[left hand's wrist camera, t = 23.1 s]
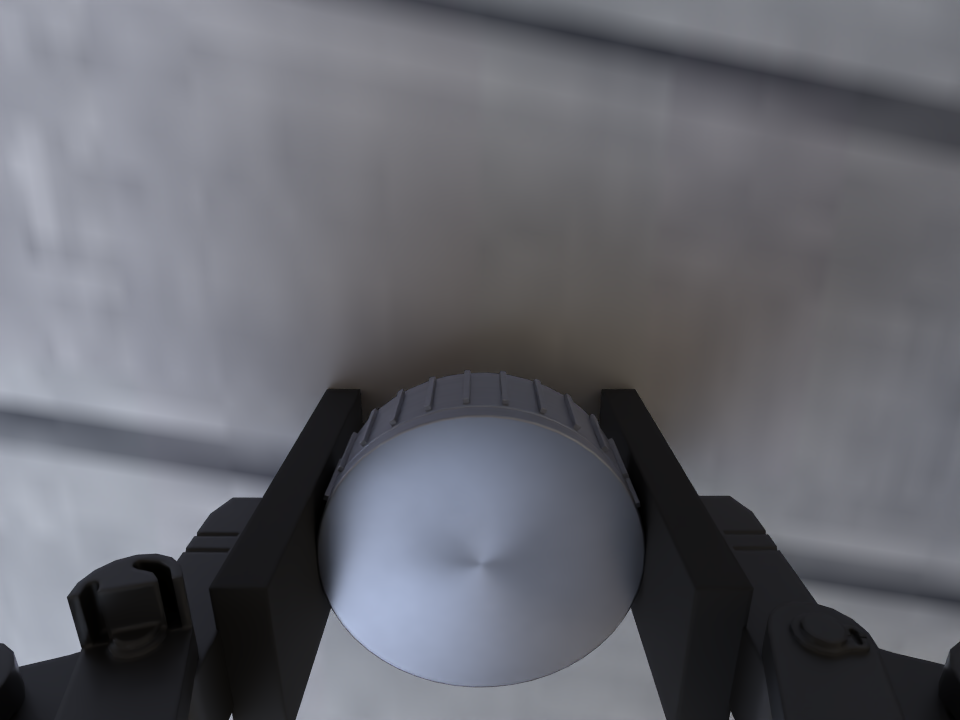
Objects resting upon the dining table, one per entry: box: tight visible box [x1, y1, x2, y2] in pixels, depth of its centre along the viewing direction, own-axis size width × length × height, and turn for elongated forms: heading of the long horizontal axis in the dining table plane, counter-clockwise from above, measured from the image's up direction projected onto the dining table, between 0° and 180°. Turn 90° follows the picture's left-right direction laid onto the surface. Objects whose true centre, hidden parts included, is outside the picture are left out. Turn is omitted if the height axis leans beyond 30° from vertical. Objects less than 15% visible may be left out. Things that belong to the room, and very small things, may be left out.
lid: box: [316, 370, 646, 687], centre depth 11 cm, size 6×6×2 cm
